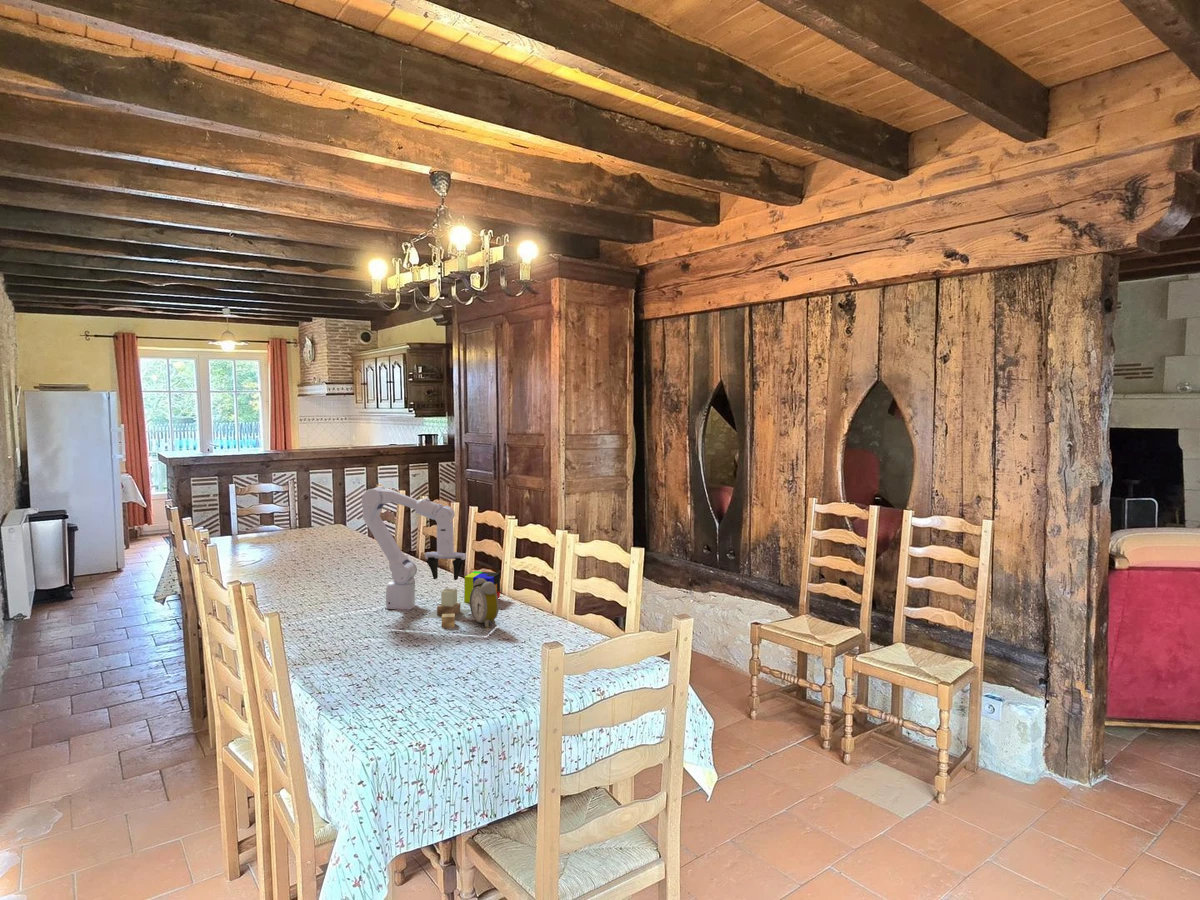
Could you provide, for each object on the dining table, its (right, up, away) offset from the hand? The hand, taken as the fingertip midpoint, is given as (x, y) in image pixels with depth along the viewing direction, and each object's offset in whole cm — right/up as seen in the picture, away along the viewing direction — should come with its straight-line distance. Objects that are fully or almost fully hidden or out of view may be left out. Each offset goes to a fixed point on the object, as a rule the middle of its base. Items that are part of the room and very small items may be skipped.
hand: (445, 579), depth 250 cm
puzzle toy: (+11, -11, +11) cm, 19 cm away
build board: (+3, -11, -8) cm, 14 cm away
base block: (+3, -10, -8) cm, 13 cm away
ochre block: (+6, -12, -22) cm, 25 cm away
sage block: (+3, -7, -8) cm, 12 cm away
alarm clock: (+17, -12, -19) cm, 28 cm away
